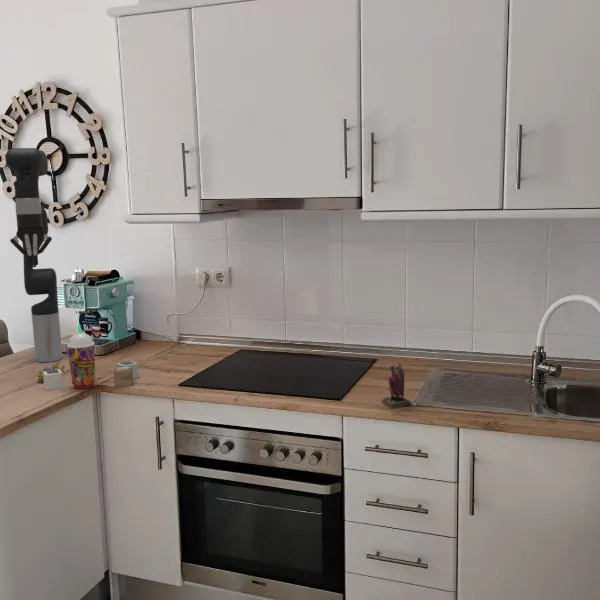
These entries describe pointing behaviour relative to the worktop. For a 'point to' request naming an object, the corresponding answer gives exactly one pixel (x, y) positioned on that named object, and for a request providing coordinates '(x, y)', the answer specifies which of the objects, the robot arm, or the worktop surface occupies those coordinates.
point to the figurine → (396, 389)
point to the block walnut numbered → (123, 376)
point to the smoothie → (82, 359)
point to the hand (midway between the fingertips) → (33, 266)
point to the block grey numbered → (130, 364)
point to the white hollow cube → (53, 379)
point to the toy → (48, 370)
